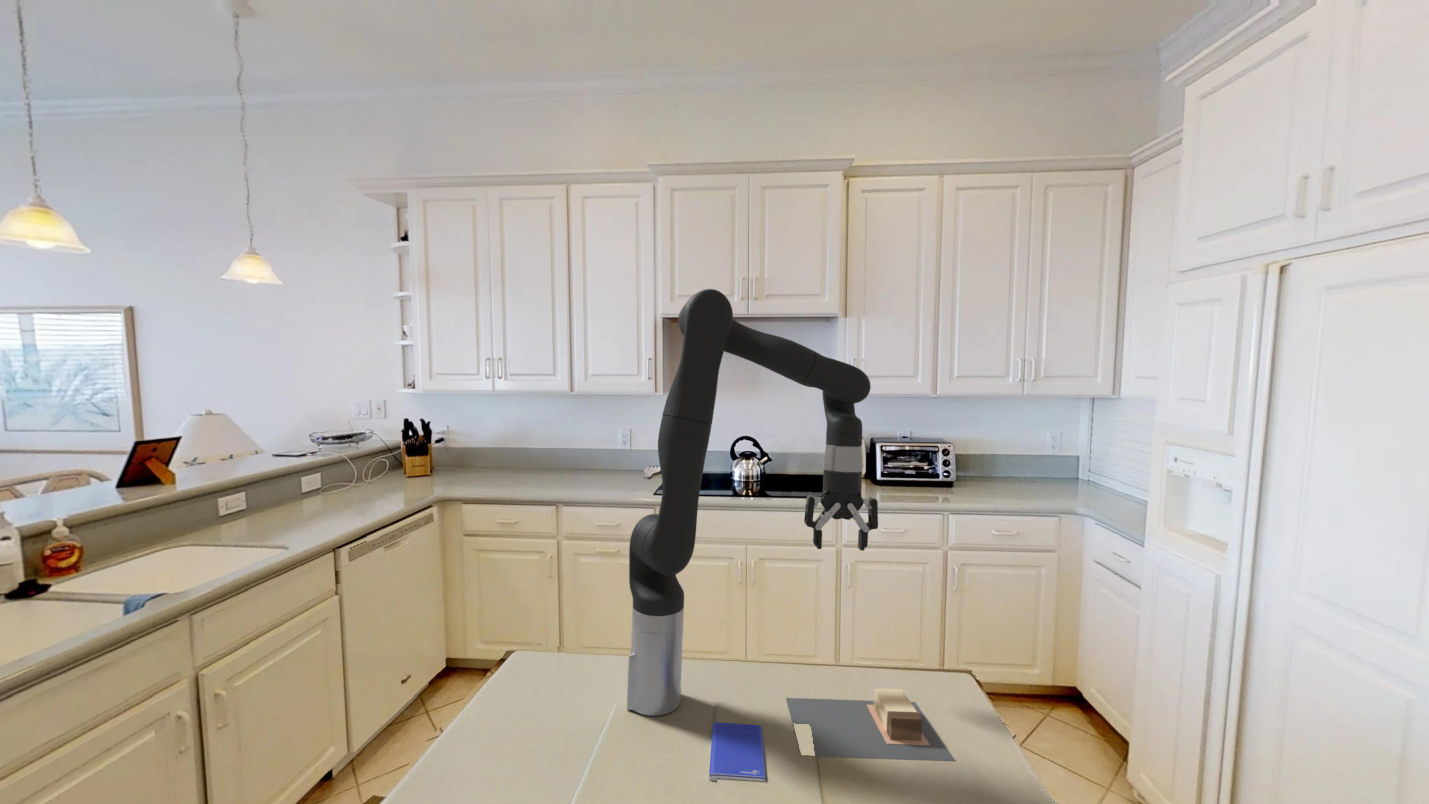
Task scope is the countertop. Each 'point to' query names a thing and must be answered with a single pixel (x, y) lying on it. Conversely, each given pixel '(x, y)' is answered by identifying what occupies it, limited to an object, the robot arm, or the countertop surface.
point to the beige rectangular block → (897, 714)
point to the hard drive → (737, 752)
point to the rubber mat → (861, 731)
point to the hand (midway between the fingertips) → (839, 548)
